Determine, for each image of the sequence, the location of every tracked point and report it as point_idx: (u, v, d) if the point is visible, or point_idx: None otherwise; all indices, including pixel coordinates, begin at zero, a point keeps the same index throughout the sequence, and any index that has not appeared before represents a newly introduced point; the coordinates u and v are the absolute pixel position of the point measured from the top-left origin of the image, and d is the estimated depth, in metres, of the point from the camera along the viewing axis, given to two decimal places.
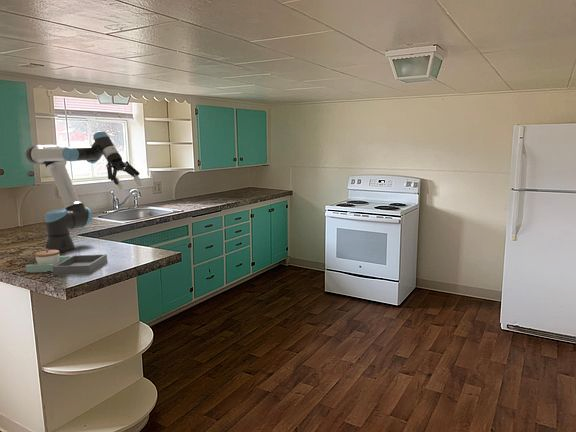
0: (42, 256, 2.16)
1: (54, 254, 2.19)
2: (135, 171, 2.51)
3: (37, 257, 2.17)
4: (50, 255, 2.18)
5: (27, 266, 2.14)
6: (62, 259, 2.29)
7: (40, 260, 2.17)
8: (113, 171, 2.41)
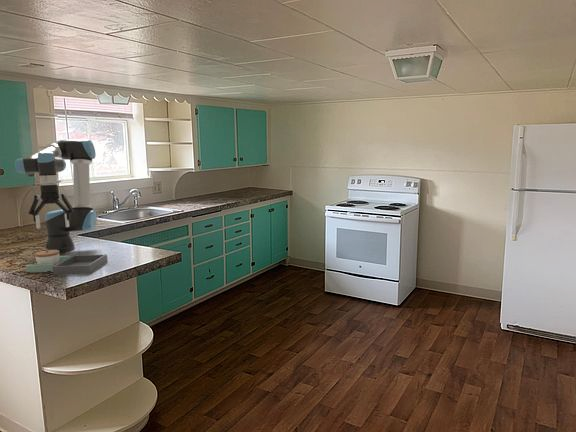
0: (42, 256, 2.16)
1: (54, 254, 2.19)
2: None
3: (37, 257, 2.17)
4: (50, 255, 2.18)
5: (27, 266, 2.14)
6: (62, 259, 2.29)
7: (40, 260, 2.17)
8: (41, 204, 2.19)
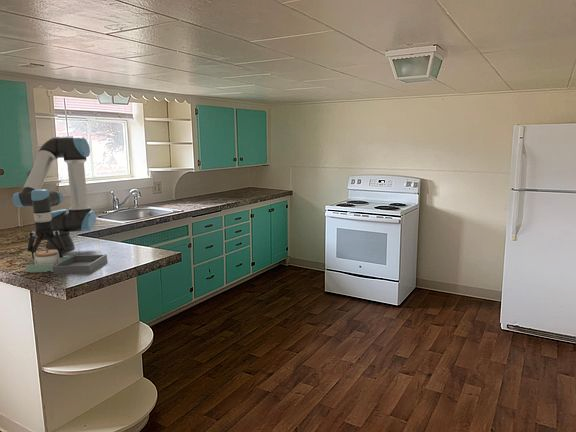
0: (42, 256, 2.16)
1: (54, 254, 2.19)
2: (60, 245, 2.20)
3: (37, 257, 2.17)
4: (50, 255, 2.18)
5: (27, 266, 2.14)
6: (62, 259, 2.29)
7: (40, 260, 2.17)
8: None
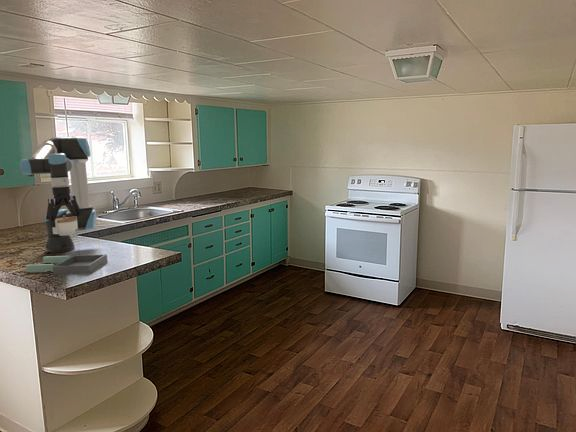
0: (73, 220, 2.14)
1: None
2: (77, 210, 2.21)
3: (67, 222, 2.12)
4: (76, 219, 2.17)
5: (27, 266, 2.14)
6: (62, 259, 2.29)
7: (71, 225, 2.13)
8: (54, 208, 2.11)
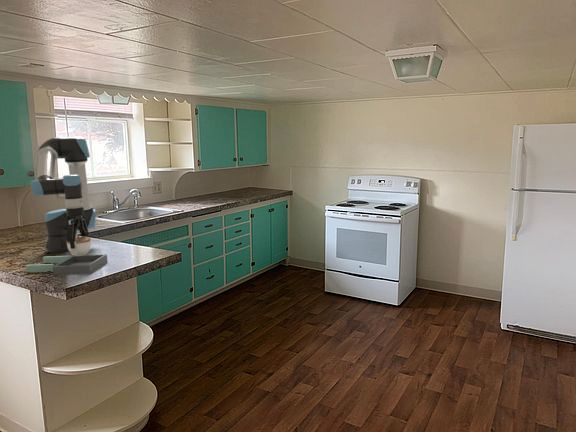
0: (89, 240, 2.17)
1: None
2: (86, 229, 2.23)
3: (85, 242, 2.14)
4: None
5: (27, 266, 2.14)
6: (62, 259, 2.29)
7: (88, 245, 2.16)
8: None
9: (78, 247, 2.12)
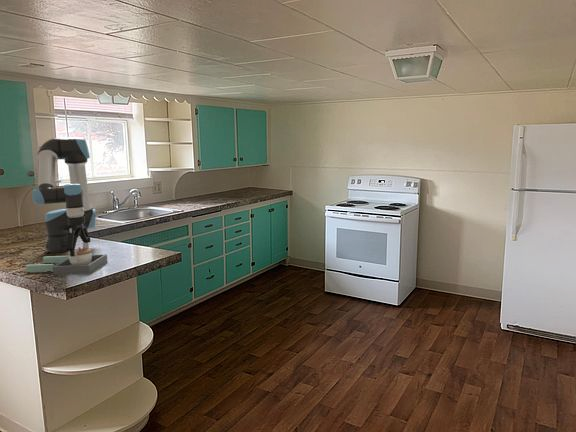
0: (91, 251, 2.18)
1: None
2: (87, 236, 2.24)
3: (87, 254, 2.15)
4: None
5: (27, 266, 2.14)
6: (62, 259, 2.29)
7: (89, 256, 2.17)
8: None
9: (79, 259, 2.13)
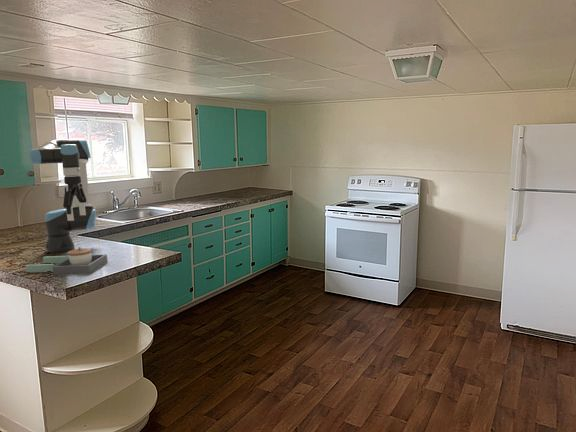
0: (91, 251, 2.18)
1: None
2: (83, 197, 2.32)
3: (87, 254, 2.15)
4: None
5: (27, 266, 2.14)
6: (62, 259, 2.29)
7: (89, 256, 2.17)
8: None
9: (79, 259, 2.13)
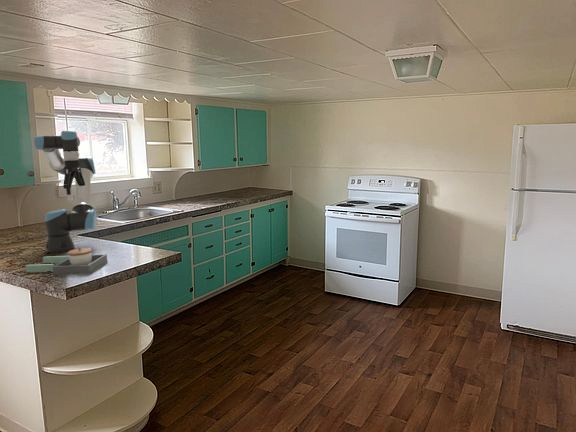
0: (91, 251, 2.18)
1: None
2: (82, 180, 2.50)
3: (87, 254, 2.15)
4: None
5: (27, 266, 2.14)
6: (62, 259, 2.29)
7: (89, 256, 2.17)
8: None
9: (79, 259, 2.13)
